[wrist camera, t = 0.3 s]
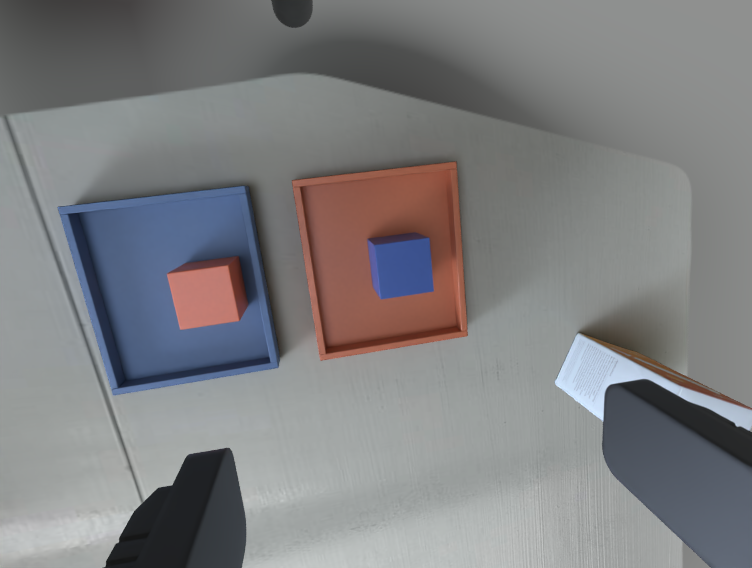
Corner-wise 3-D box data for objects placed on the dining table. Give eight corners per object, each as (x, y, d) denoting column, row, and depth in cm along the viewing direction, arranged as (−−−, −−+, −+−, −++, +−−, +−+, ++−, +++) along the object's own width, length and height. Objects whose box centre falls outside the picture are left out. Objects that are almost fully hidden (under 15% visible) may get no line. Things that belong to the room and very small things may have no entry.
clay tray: (292, 180, 36) (291, 180, 34) (448, 163, 37) (456, 161, 35) (319, 352, 40) (320, 361, 37) (460, 329, 41) (468, 336, 39)
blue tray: (72, 206, 34) (57, 206, 32) (248, 185, 35) (244, 185, 33) (123, 384, 37) (112, 395, 35) (280, 358, 39) (278, 368, 37)
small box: (637, 350, 45) (763, 412, 32) (612, 401, 46) (725, 480, 33) (576, 330, 43) (684, 386, 31) (552, 383, 44) (646, 459, 32)
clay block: (184, 263, 35) (166, 273, 31) (239, 255, 36) (228, 264, 31) (196, 313, 36) (179, 330, 32) (248, 305, 37) (240, 321, 32)
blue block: (366, 238, 37) (374, 245, 33) (416, 232, 38) (429, 237, 33) (372, 287, 38) (380, 299, 34) (420, 280, 39) (434, 291, 34)
